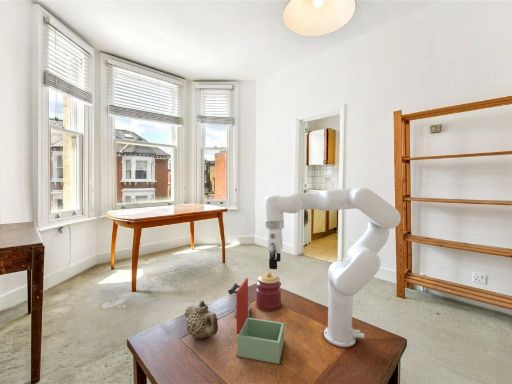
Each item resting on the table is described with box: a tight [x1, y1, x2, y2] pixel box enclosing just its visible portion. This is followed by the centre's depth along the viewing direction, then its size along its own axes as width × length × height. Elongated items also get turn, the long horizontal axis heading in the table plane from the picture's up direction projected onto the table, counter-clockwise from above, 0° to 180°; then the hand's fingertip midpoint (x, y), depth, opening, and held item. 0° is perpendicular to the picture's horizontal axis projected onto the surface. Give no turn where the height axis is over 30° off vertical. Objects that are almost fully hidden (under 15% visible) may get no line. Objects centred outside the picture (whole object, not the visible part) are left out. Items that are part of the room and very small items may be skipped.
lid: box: [227, 277, 249, 336], centre depth 97 cm, size 16×13×5 cm
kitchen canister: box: [255, 271, 282, 312], centre depth 128 cm, size 13×13×18 cm
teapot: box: [184, 299, 219, 340], centre depth 102 cm, size 21×12×15 cm, turn 47°
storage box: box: [237, 317, 285, 365], centre depth 95 cm, size 16×13×8 cm
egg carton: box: [233, 300, 251, 318], centre depth 121 cm, size 11×8×4 cm
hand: (275, 264), depth 103 cm, fingers open, 9 cm apart
